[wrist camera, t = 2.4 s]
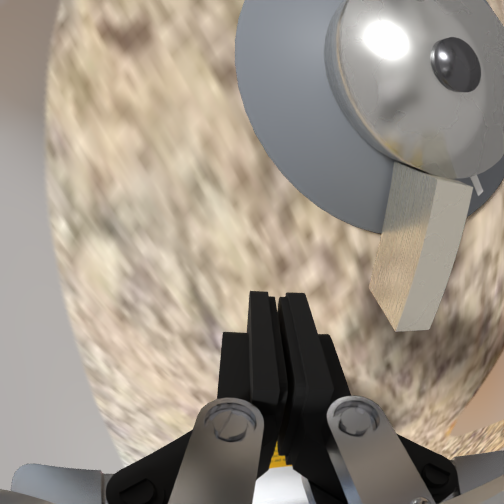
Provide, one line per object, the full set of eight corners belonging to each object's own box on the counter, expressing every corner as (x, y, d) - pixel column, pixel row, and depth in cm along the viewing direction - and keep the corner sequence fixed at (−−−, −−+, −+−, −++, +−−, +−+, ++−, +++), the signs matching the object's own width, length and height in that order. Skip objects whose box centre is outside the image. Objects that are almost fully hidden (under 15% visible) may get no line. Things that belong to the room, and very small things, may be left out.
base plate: (248, -79, 9) (248, -92, 8) (505, 4, 10) (517, 1, 9) (226, 215, 17) (224, 224, 15) (486, 237, 17) (498, 245, 16)
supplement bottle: (229, 355, 21) (220, 536, 9) (324, 350, 21) (367, 522, 9) (235, 411, 24) (232, 554, 12) (314, 407, 24) (339, 546, 12)
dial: (326, -37, 10) (350, -76, 6) (486, 22, 10) (532, 14, 6) (298, 284, 17) (312, 333, 13) (448, 287, 17) (482, 324, 13)
